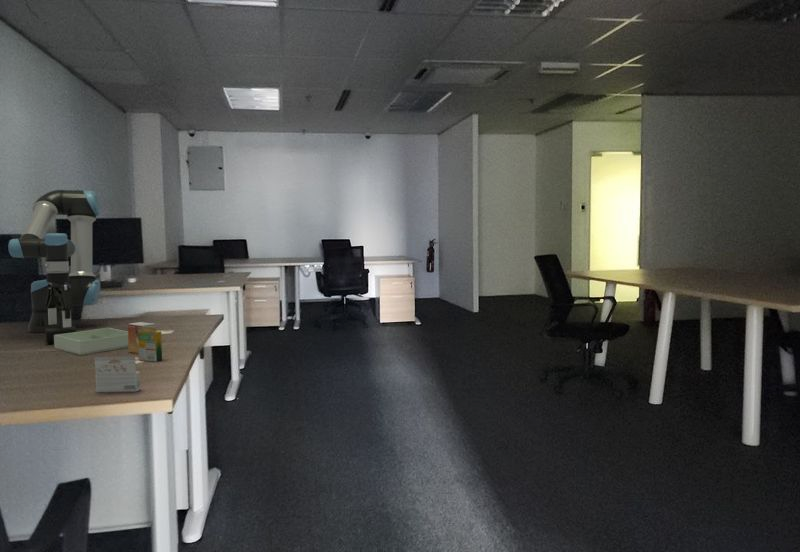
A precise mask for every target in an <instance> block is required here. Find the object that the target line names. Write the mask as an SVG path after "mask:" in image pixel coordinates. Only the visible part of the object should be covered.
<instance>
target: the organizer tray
mask: <svg viewBox="0 0 800 552" xmlns="http://www.w3.org/2000/svg"><path fill="white" fill-rule="evenodd" d="M53 346H54V349H57V350H59V351H63V352H68V353H70V354H74V355H78V356H86V355H91V354H92V355H93V354H97V353H99V354H100V353H103V352H109V351H110V352H111V351H115V350H122V349H127V348H128V349H129V347H128V330H122V329H117V328H112V327H104V328H97V329H90V330H89V329H88V330H81V331H76V332H72V333H65V334H57V335H54V345H53Z"/></svg>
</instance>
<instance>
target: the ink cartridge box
mask: <svg viewBox="0 0 800 552" xmlns="http://www.w3.org/2000/svg"><path fill="white" fill-rule="evenodd" d="M93 359H94V360H93V361H94V367H95V369H94V370H95V375H94V376H95V380H94V382H95V392H96V393H115V392H116V393H119V392H121V393H123V392H124V393H127V392H129V393H130V392H131V393H132V392H138V391H140V390H141V371H139V370H137V365H136V363H137V362H136V356H135V355H134V356H127V355H126V356H93ZM113 360H116V361H120V363H119V362H118V363H117V362H114V363H113V362H112V363H110V362H111V361H113Z"/></svg>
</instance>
